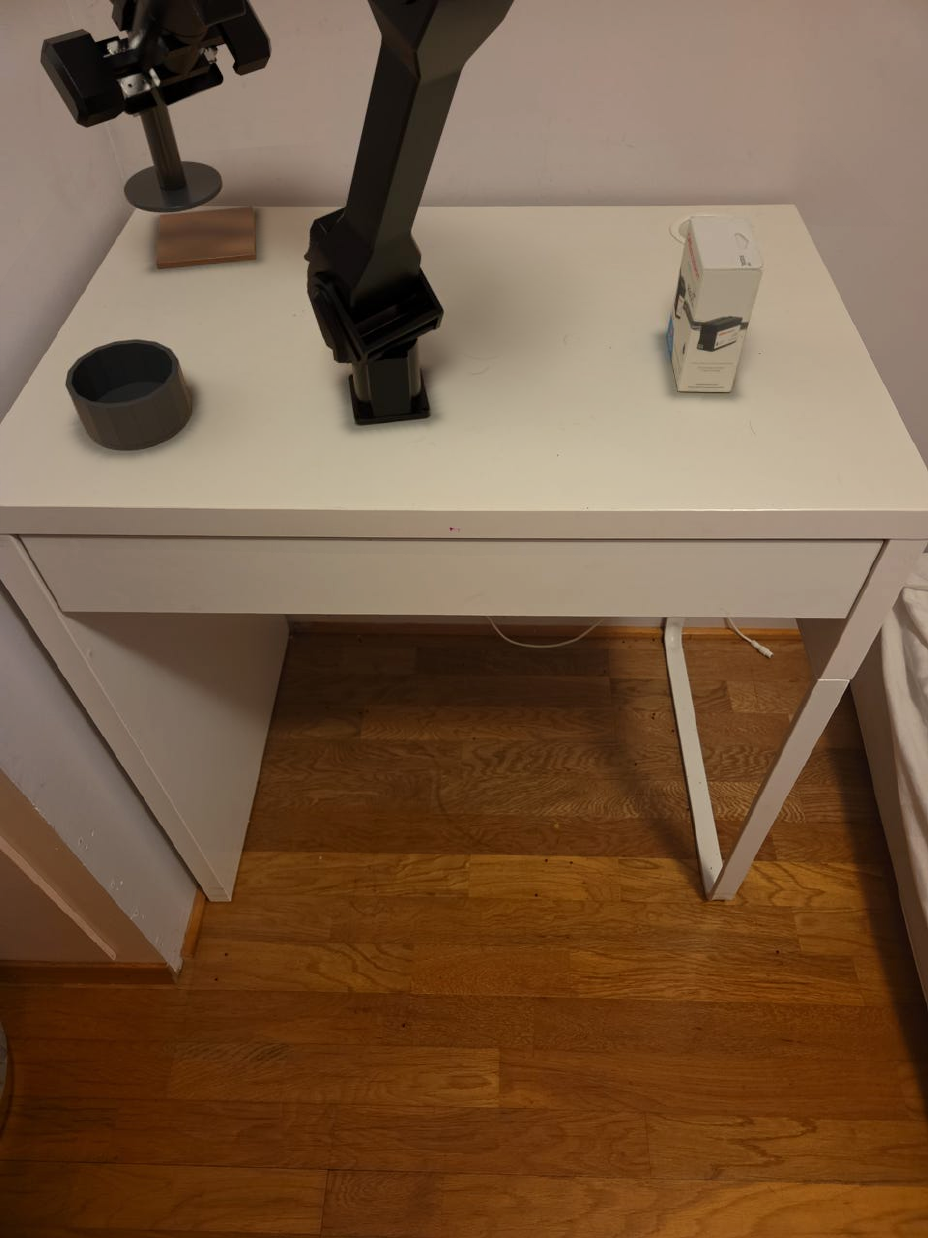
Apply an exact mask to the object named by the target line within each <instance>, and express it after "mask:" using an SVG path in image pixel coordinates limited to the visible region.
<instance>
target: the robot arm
mask: <svg viewBox="0 0 928 1238" xmlns="http://www.w3.org/2000/svg"><path fill="white" fill-rule="evenodd" d="M108 1H109V2H110V3H111V5H112V11H111V19H112V21H113V22H114V25H115V26H116V28H117V31H118V32H126V34H127V37H124V38H120V36H119V35H115V36H110V37H108V38H104V39H100V40H98V41H96V40H95V39H94V37H93V35H92V33H91V32H89V31H87V30H85V29H84V28H80V29H77V30H73V31H69V32H66V33H63V34H59V35H56V36H52V37H49V38H46V39H43V42H42V44H41V45H42V46H41V49H40V57H39V58H40V61H39V63H40V65H41V66H42V68H43V69H44V72H45V73H46V74H47V76H48V78H49V80H50V82H51V83H52V85H53V86H54V88H55V90H56V91H57V93H58V95H59V96H60V98H61V100H62V102H63V103H64V105H65V106H66V108H67V110H68V111H69V113H70V114H71V116H72V118H73V120H74V121H75V123H76V124H77V125H80V126H81V127H84V128H86V129H87V128H90V127H93V126H97V125H99V124H104V123H105V122H109V121H112V120H115V119H116V118H118V117H119V116H120V115H121V114H122V113H125V114H126V115H129V116H132V117H133V118H137V117H140V115H142V114H144V113H146V112H147V111H149V110H151V109H153V108H155V107H157V106H158V104H157V102H156V101H155V99H154V97H153V95H152V94H151V92H150V89H151V86H152V81H153V80H154V82H155V84H156V85H157V87H158V88H160V87H163V91H164V95H165V99H166V103H167V107H170V106H172V105H174V104H177V103H179V102H181V101H183V100H187V99H189V98H191V97H193V96H196V95H199V94H201V93H203V92H207V91H209V90H211V89H213V88H216V87H219V86H221V85H222V84H223V83H224V80H225V79H224V78H225V77H224V74H223V72H222V71H221V69H220V67H219V66H218V64H217V62H218V59H217V57H216V56H217V55H218V53H219V49H218V47H220V46H223V45H225V46H226V48H227V49H228V51H229V53H230V56H231V57H232V59H233V61H234V62H233V64H232V69H233V71H234V73H235V75H238V76H240V77H243V76H245V75H248V74H251V73H255V72H257V71H260V70H263V69H266V67H267V64H268V63H269V60H270V58H271V56H272V51H273V50H272V48H273V47H272V44H271V38H270V36H269V34H268V32H267V31H266V29H265V27H264V25H263V23H262V21H261V20H260V17H259V16H258V14H257V12H256V10H255V9H254V6H253V5H252V3H251V1H250V0H108ZM514 2H515V0H367V3H368V5H369V8H370V11H371V13H372V15H373V17H374V20H375V22H376V25H377V27H378V30H379V33H380V35H381V36H380V37H381V38H380V46H379V51H378V56H377V60H376V65H375V69H374V74H373V79H372V84H371V88H370V92H369V97H368V102H367V106H366V111H365V114H364V120H363V125H362V128H361V129H362V130H361V134H360V139H359V143H358V147H357V153H356V158H355V162H354V166H353V171H352V175H351V180H350V184H349V189H348V194H347V198H346V204H345V206H343V207H341V208H337V209H336V210H333V211H331V212H329V213H326V214H324V215H322V216H319V217H317V218H315V219H314V220H313V222H312V224H311V226H310V229H309V242H308V248H307V251H306V253H305V254H304V255H303V259H304V260H305V261H306V262H308V265H307V270H306V278H307V281H306V289H307V290H306V293H307V297H308V299H309V302H310V305H311V308H312V311H313V314H314V317H315V319H316V322H317V325H318V328H319V330H320V331H319V332H320V334H321V337H322V339H323V341H324V344H325V346H326V347H328V348H329V349H330V350H332V351H331V352H332V357H333V361H334V362H336V363H338V364H347V365H349V364H351V365H350V366H351V372H352V373H351V374H349V375H348V386H349V393H350V401H351V406H352V407H351V408H352V414H353V415H352V416H353V421H354V424H357V425H366V424H375V423H384V422H385V423H386V422H391V421H392V422H393V421H400V420H401V421H402V420H411V419H418V418H427V417H429V416H430V415H431V408H430V403H429V398H428V393H427V389H426V385H425V381H424V380H425V379H424V376H423V371H422V369H421V366H420V349H419V348H420V347H419V338H420V337H422V336H424V335H426V334H428V333H430V332H431V331H436V330H437V329H440V327H441V324H442V321H443V317H444V313H445V312H444V311H445V310H444V308H443V306H442V304H441V302H440V300H439V298H438V297H437V295H436V292H435V291H434V289H433V287H432V285H431V284H430V282H429V279H428V278H427V276H426V274H425V272H424V271H423V269H422V267H421V262H422V251H421V249H420V247H419V245H418V244H417V241H416V240H415V238H414V237H413V234H412V229H413V226H414V222H415V220H416V216H417V213H418V210H419V207H420V203H421V201H422V198H423V194H424V191H425V188H426V185H427V181H428V179H429V176H430V172H431V170H432V166H433V163H434V160H435V157H436V155H437V151H438V147H439V145H440V141H441V137H442V134H443V132H444V128H445V125H446V122H447V119H448V116H449V112H450V110H451V106H452V104H453V100H454V98H455V93H456V91H457V87H458V85H459V81H460V78H461V75H462V72H463V69H464V67H465V65H466V63H468V60H470V58H472V57H473V55H474V54H475V53H476V52H477V50H478V49H479V48H480V47H481V46H482V45H483V44H484V43H485V42H486V41H487V39H489V37H490V36H491V35H492V34H493V33H494V31H496V29H498V27H499V26H500V25H502V23H503V22H504V20H505V18H506V17H507V15H508V13H509V12H510V9H511V7H512V6H513V4H514Z"/></svg>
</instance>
